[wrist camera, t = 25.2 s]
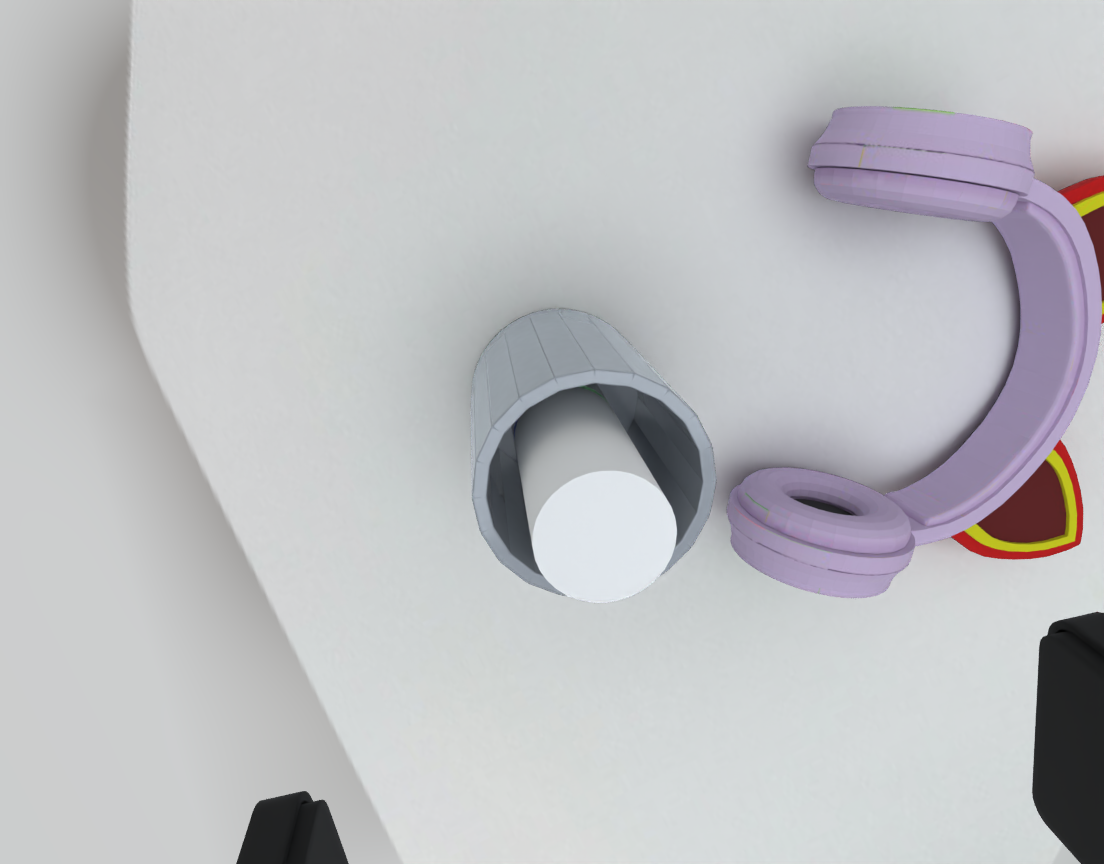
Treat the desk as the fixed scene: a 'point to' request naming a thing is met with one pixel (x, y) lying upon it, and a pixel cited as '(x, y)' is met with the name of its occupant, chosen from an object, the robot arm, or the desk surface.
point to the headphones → (1023, 405)
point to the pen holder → (632, 392)
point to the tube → (590, 499)
